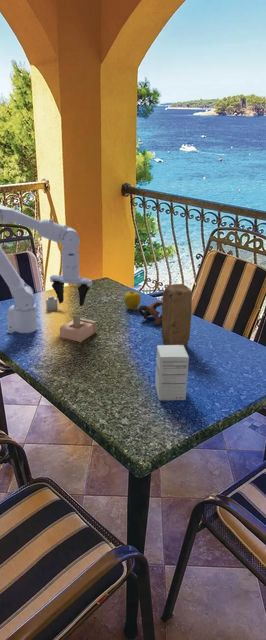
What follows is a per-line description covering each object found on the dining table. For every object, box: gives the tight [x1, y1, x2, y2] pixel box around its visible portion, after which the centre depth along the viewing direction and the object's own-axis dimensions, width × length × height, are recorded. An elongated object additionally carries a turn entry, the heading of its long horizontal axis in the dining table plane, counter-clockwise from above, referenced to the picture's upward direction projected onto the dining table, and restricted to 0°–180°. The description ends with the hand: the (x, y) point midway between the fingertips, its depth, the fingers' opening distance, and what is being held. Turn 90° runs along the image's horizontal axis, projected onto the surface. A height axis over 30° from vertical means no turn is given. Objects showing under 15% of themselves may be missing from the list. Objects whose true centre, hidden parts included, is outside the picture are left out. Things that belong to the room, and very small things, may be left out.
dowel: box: [72, 314, 81, 329], centre depth 152 cm, size 2×2×7 cm
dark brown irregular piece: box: [137, 301, 162, 326], centre depth 169 cm, size 12×10×8 cm
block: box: [161, 283, 193, 348], centre depth 148 cm, size 11×8×20 cm
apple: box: [123, 289, 141, 311], centre depth 180 cm, size 6×6×8 cm
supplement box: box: [154, 344, 190, 401], centre depth 119 cm, size 7×7×13 cm
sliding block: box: [59, 319, 95, 343], centre depth 152 cm, size 8×8×4 cm
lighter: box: [45, 289, 65, 311], centre depth 178 cm, size 7×2×8 cm, turn 113°
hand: (71, 303), depth 157 cm, fingers open, 7 cm apart
